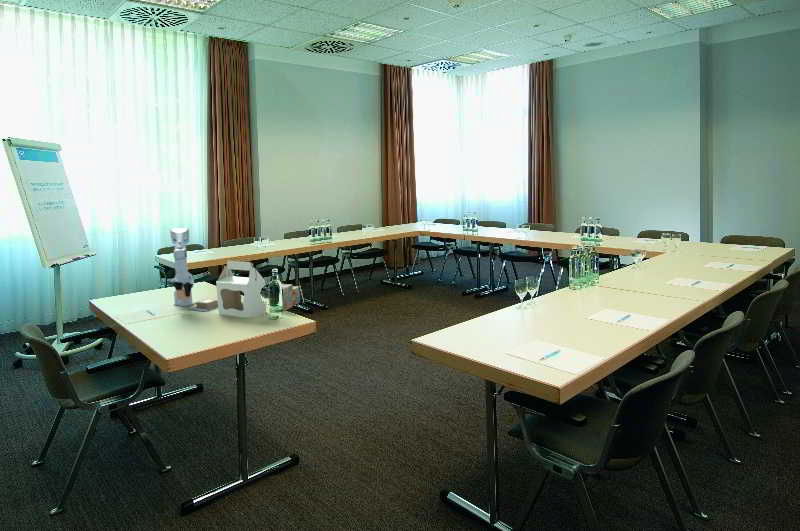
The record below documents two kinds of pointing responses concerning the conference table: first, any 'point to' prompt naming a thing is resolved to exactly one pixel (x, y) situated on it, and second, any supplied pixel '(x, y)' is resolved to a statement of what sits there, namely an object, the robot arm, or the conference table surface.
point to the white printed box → (290, 295)
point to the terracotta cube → (182, 294)
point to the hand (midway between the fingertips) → (184, 296)
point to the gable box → (231, 291)
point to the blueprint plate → (205, 305)
